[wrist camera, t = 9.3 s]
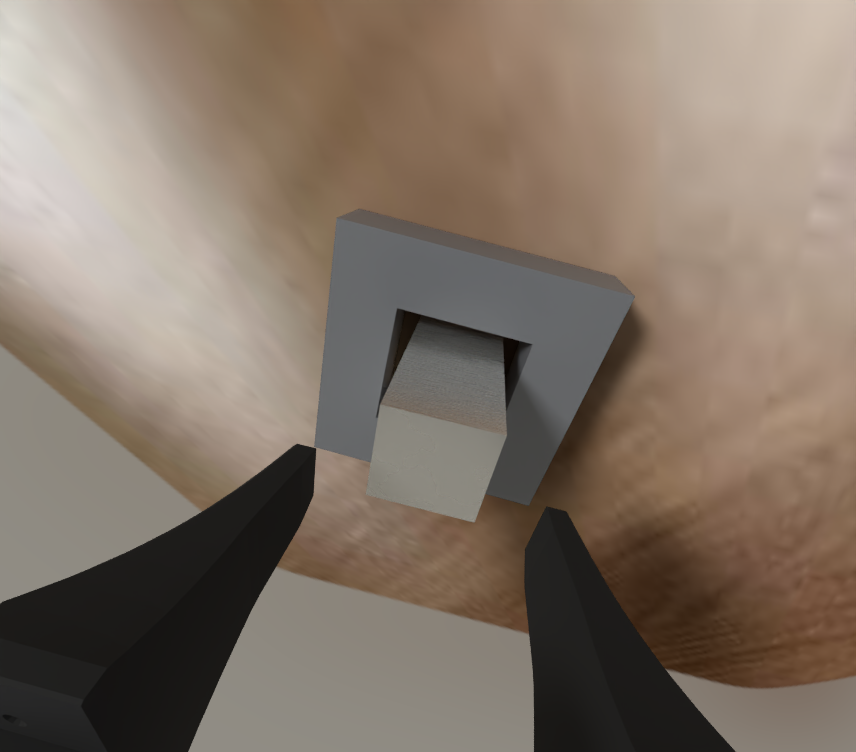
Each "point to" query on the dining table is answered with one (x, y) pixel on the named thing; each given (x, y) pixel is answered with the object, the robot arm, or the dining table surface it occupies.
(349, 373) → the frame
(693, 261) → the dining table surface
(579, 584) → the robot arm
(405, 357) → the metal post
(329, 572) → the dining table surface
